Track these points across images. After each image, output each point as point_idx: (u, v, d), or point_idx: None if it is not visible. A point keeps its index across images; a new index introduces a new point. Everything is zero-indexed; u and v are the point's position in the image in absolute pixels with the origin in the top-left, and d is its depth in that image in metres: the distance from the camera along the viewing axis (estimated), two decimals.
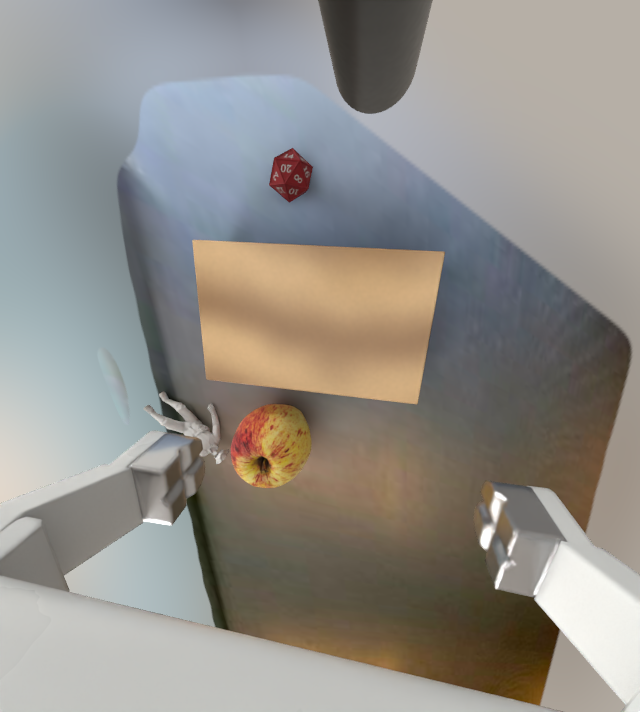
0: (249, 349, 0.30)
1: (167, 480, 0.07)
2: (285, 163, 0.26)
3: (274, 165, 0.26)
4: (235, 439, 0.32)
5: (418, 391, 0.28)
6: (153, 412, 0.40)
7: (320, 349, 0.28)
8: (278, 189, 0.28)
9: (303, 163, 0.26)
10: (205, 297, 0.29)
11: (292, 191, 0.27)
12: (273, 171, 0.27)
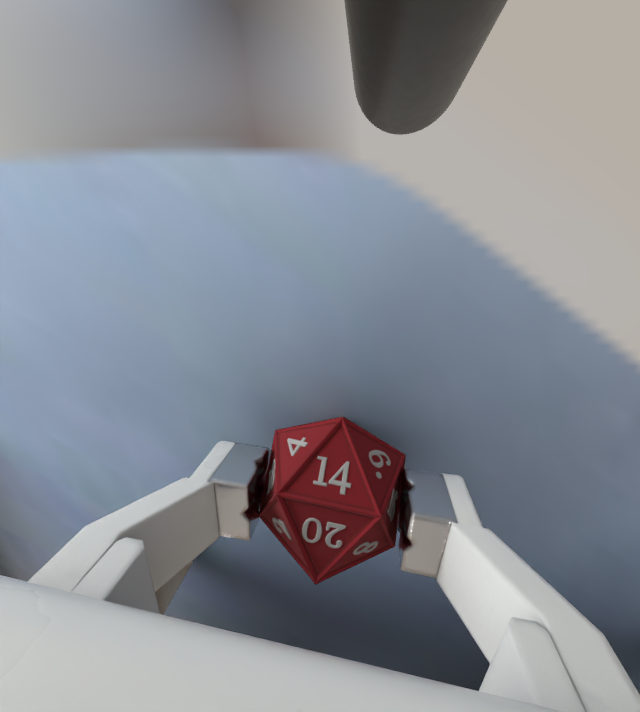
0: None
1: (249, 494, 0.07)
2: (320, 516, 0.07)
3: (276, 504, 0.07)
4: None
5: None
6: None
7: None
8: None
9: (388, 499, 0.07)
10: None
11: None
12: (272, 509, 0.07)
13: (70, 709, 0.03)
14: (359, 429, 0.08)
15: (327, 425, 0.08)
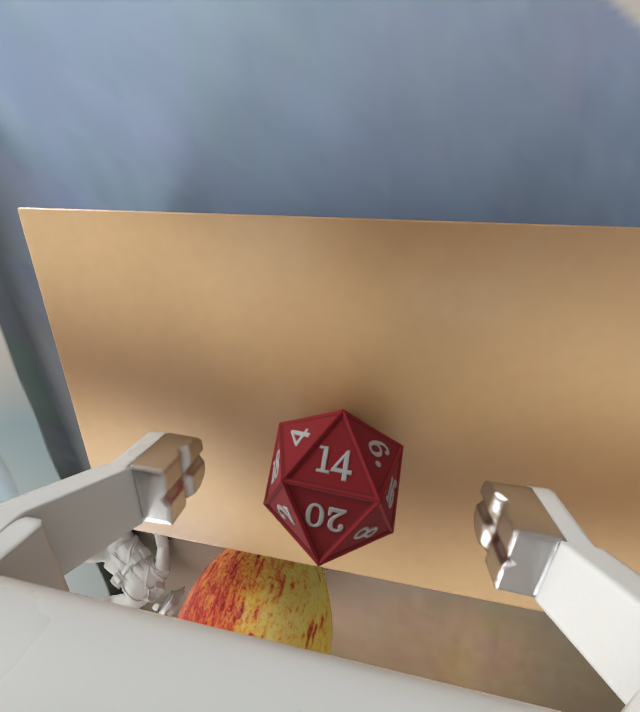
0: None
1: (167, 480, 0.07)
2: (322, 501, 0.07)
3: (281, 491, 0.07)
4: None
5: None
6: None
7: None
8: None
9: (387, 486, 0.07)
10: (76, 358, 0.11)
11: None
12: (277, 496, 0.08)
13: (70, 709, 0.03)
14: (359, 421, 0.08)
15: (329, 417, 0.08)
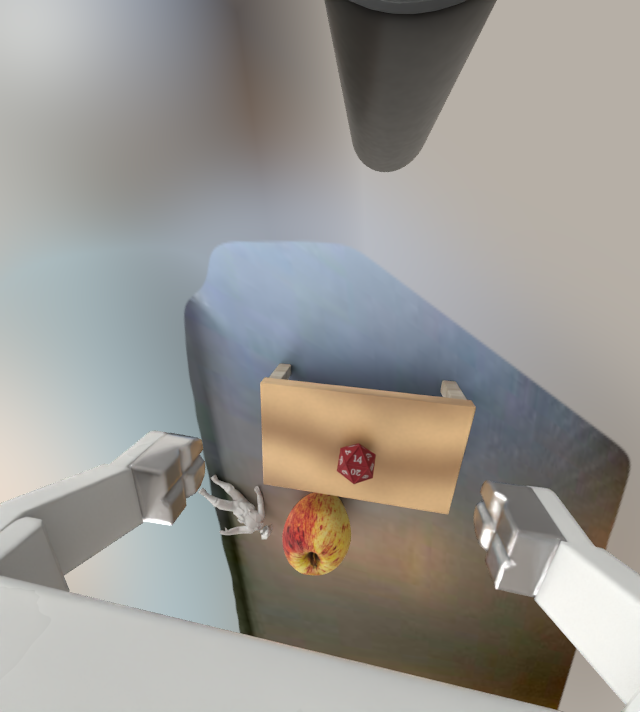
0: (303, 464, 0.35)
1: (167, 480, 0.07)
2: (355, 468, 0.29)
3: (344, 466, 0.30)
4: (288, 535, 0.37)
5: (449, 505, 0.33)
6: (206, 494, 0.45)
7: None
8: None
9: (370, 465, 0.30)
10: (268, 424, 0.34)
11: None
12: (342, 467, 0.30)
13: (70, 709, 0.03)
14: (363, 448, 0.30)
15: (355, 447, 0.30)
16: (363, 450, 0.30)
